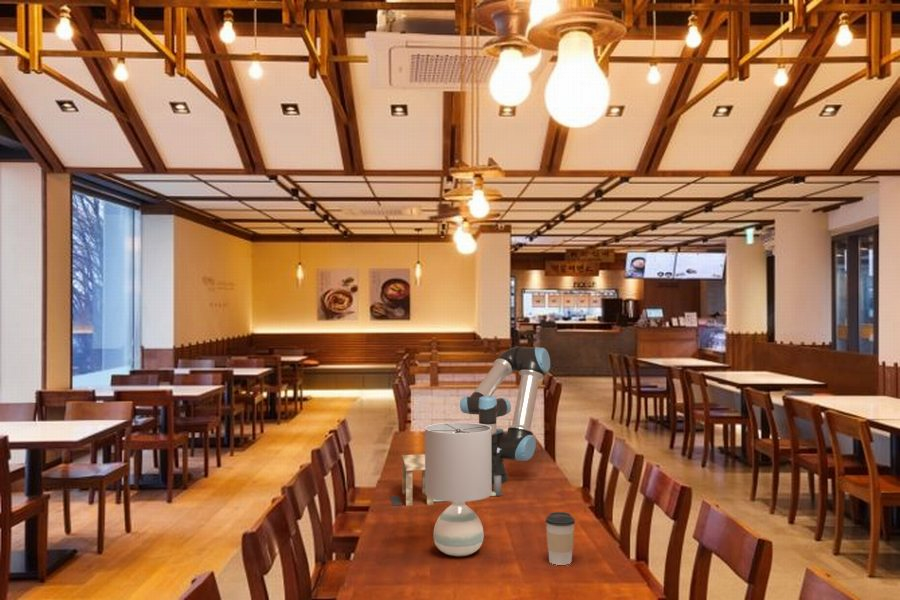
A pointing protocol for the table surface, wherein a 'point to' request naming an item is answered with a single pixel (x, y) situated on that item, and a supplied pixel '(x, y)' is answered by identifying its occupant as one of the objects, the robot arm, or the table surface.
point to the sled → (496, 487)
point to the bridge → (407, 466)
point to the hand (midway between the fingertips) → (487, 488)
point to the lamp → (458, 482)
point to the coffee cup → (560, 537)
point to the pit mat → (396, 500)
